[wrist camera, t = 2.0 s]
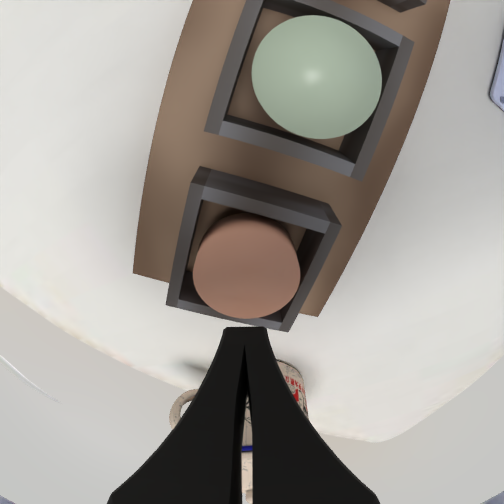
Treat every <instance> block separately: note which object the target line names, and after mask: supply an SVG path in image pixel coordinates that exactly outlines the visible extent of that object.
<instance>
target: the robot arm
mask: <svg viewBox="0 0 504 504" xmlns="http://www.w3.org/2000/svg"><path fill="white" fill-rule="evenodd" d="M490 97H491V99H492V101H493V102H494V103H496V104H497V105H498V106H499V107H500V108H501V109H502V110H503V111H504V39H503V44H502V49H501V53H500V57H499V62H498V66H497V69H496V73H495V77H494V81H493V84H492V88H491V91H490ZM500 97H501V101H500ZM247 391H248V400H249V409H250V418H251V427H252V504H380V502H379V500H378V498H377V496H376V495H375V494H374V493H373V491H371V490H370V489H369V488H368V487H366V485H365V484H363V483H362V482H361V481H360V480H359V479H358V478H357V477H356V476H355V475H354V474H353V473H352V472H351V471H350V470H349V469H348V468H347V467H346V466H345V465H344V464H343V463H342V462H341V461H340V459H339V458H338V457H337V456H336V455H335V454H334V452H333V451H332V450H331V449H330V448H329V446H328V445H327V444H326V443H325V442H324V440H323V439H322V438H321V437H320V435H319V434H318V432H317V431H316V430H315V428H314V427H313V426H312V424H311V423H310V421H309V420H308V418H307V417H306V415H305V414H304V412H303V411H302V409H301V408H300V406H299V404H298V403H297V401H296V399H295V397H294V396H293V394H292V392H291V390H290V388H289V386H288V384H287V383H286V381H285V378H284V376H283V374H282V372H281V370H280V368H279V366H278V363H277V361H276V358H275V356H274V353H273V351H272V348H271V345H270V341H269V338H268V334H267V329H266V328H265V327H264V326H261V327H226V328H225V329H224V330H223V335H222V338H221V341H220V344H219V347H218V349H217V352H216V354H215V357H214V359H213V362H212V364H211V366H210V368H209V370H208V372H207V374H206V376H205V378H204V380H203V382H202V384H201V386H200V388H199V389H198V391H197V393H196V395H195V397H194V398H193V400H192V402H191V403H190V405H189V407H188V408H187V410H186V411H185V413H184V414H183V416H182V418H181V419H180V420H179V422H178V423H177V425H176V426H175V427H174V429H173V430H172V431H171V433H170V434H169V435H168V437H167V438H166V439H165V440H164V442H163V443H162V444H161V445H160V446H159V448H158V449H157V450H156V451H155V452H154V453H153V454H152V455H151V456H150V457H149V459H148V460H147V461H146V462H145V463H144V464H143V465H142V466H141V467H140V468H139V469H138V470H137V471H136V472H135V473H134V474H133V475H132V476H131V477H130V478H128V479H127V480H126V481H125V482H124V483H123V484H122V485H121V486H119V487H118V488H117V489H116V490H115V491H114V492H112V494H111V495H110V497H109V500H108V502H107V504H242V442H243V432H244V422H245V411H246V401H247ZM0 504H15V503H13V502H12V501H9V500H7V499H6V498H4V497H2V496H1V495H0ZM481 504H504V491H503V492H501V493H500V494H498V495H496V496H494V497H492V498H491V499H489V500H487V501H485V502H483V503H481Z"/></svg>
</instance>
